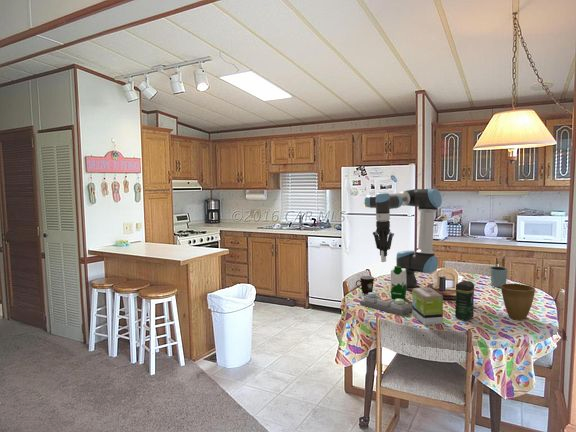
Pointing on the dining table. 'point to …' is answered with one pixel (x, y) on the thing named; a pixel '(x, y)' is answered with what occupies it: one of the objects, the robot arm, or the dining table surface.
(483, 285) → the dining table surface
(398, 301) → the sage button
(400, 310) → the button board
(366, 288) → the coffee mug
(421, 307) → the tea box
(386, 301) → the terracotta button
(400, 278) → the milk carton
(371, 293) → the slate button
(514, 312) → the plant pot
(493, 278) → the blue-grey cylindrical pot
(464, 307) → the coffee jar
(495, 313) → the dining table surface
